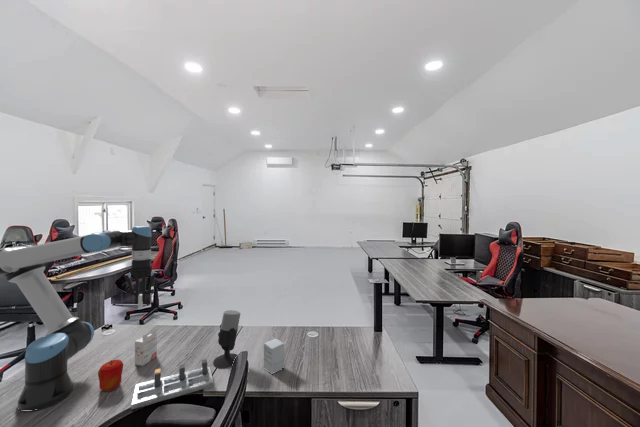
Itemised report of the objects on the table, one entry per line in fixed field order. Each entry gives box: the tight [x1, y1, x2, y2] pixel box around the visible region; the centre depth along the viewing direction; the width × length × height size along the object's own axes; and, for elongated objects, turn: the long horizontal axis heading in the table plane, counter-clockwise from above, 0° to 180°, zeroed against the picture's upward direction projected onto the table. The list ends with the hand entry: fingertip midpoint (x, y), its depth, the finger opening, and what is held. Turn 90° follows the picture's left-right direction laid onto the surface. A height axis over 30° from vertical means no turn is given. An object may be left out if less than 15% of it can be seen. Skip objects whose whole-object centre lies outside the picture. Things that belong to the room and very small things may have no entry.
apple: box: [97, 359, 124, 392], centre depth 110 cm, size 9×8×12 cm
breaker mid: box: [178, 363, 186, 381], centre depth 112 cm, size 3×3×6 cm
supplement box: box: [263, 338, 285, 373], centre depth 126 cm, size 7×7×13 cm
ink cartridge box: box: [134, 328, 158, 367], centre depth 130 cm, size 9×5×15 cm, turn 168°
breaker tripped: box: [153, 368, 162, 387], centre depth 108 cm, size 3×3×7 cm
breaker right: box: [200, 358, 208, 375], centre depth 116 cm, size 3×3×6 cm
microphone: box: [212, 310, 241, 370], centre depth 131 cm, size 13×13×25 cm
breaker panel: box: [130, 365, 214, 410], centre depth 111 cm, size 29×13×4 cm, turn 119°
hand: (140, 308), depth 122 cm, fingers closed
